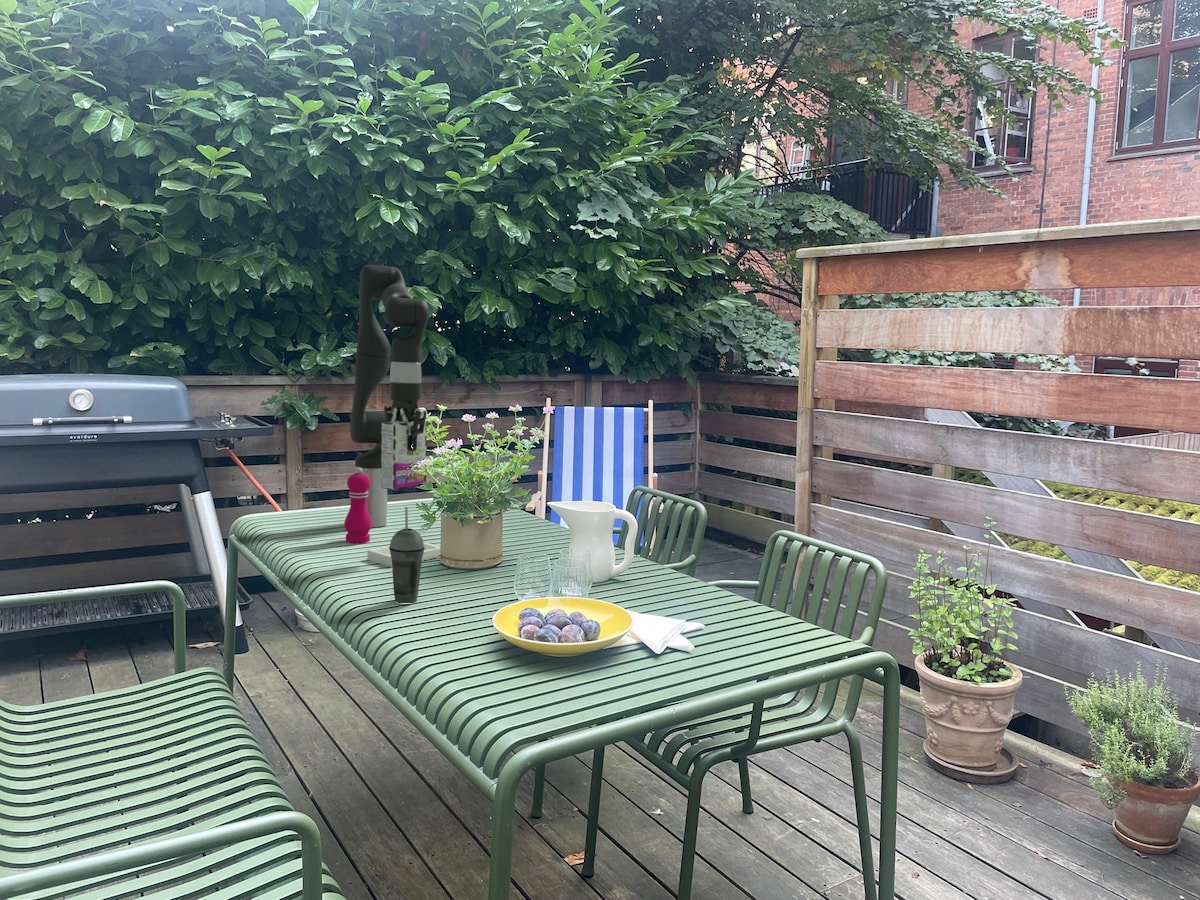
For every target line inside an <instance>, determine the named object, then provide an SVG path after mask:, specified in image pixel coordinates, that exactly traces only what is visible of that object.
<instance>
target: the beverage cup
mask: <svg viewBox="0 0 1200 900" xmlns="http://www.w3.org/2000/svg"><path fill="white" fill-rule="evenodd" d="M408 508H409V507H408V506H404V514H405V515H404V517H405V518H404V519H405V520H404V524H405V526H404V528H402V529H400V530H398V531H396V533H394V535H393V536H392V538H391V540H390V542H389V546H390V547H389V549H390V554H391V558H392V567H391V568H392V569H391V571H392V583H393V594H394V602H395V601H396V602H398V603H414V602H416V601H417V602H418V597H419V596H418V595H419V588H420V579H421V571H422V563H423V561H422V558H423V553H424V549H425V547H424V543H425V542H424V539H423V537H422V535H421V534H420V532H418V531H417V530H415V529H413V528H409V521H408V520H409V516H408V515H409V514H408V513H409V512H408V510H409V509H408ZM417 602H416V603H417ZM414 604H415V603H414Z"/></svg>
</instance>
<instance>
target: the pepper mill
mask: <svg viewBox="0 0 1200 900" xmlns="http://www.w3.org/2000/svg"><path fill="white" fill-rule="evenodd" d="M346 485H347V487H348V489H349V490H350V491H348V494H349V495H348V497H349V498H350V505H349V506H350V507H349V510H348V513H347V514H346V516H345V519H344V524H343V527H344V530H345V531H346V532H347V533H346V534H345V542H346V543H348V542H349V544H356V543H358V544H365V543H366V542H367V543H369V542H370V541H371V534H370V533H369V532H370V530H372V528H373V527H372V521H371V518H370V515H369V513H368V510H367V506H366V499H367V497H368V491H367V489H368V488H369V487H370V479H369V477H368V476H367V475H366V474H363V473H362V468H360V467H358V468H357V469H356V473H355V472H354V473H353V474H351V475H350V476H349V477H348V478H347V481H346Z"/></svg>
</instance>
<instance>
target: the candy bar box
mask: <svg viewBox="0 0 1200 900" xmlns="http://www.w3.org/2000/svg"><path fill="white" fill-rule="evenodd" d="M427 422H428V421H426V420H425V425H424V431H423V433H421V434H418V435H417V448H416V450H415V451H408V450H407V439H408V436H409V435H408V432H407V426H406V423H404V422H402V421H394V422H391V421H390V422H382V423H381V424H382V425H381V430H382V431H381V434H382V435H381V451H382V453H381V488H383V489H387V490H390V491H399V490H400V491H401V490H405V489H411V488H419V487H420V486H419V484H420V483H423V482H426V483H427V475H426V476H424V475H422V474H419V473H416V472H415V471H413V470H411V468H412V466H414V465H415V464H413V463H415V462H417V461H419V460H422V459H425V458H426V459H427V429H428V427H427V426H428V425H427V424H428V423H427ZM410 423H413V421H412V422H410ZM419 427H420V424H419V425H418V429H419ZM411 429H412V430H413V426H411ZM411 464H413V465H412V466H410V465H411ZM407 468H409V469H407Z"/></svg>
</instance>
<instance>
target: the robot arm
mask: <svg viewBox="0 0 1200 900" xmlns="http://www.w3.org/2000/svg"><path fill="white" fill-rule="evenodd" d="M403 276H404V275H403V274H402V271H401V270H400V269H399V268H397V267H394V266H392V265H391V266H388V265H377V264H364V265H363V266H362V267H361V269H360V273H359V291H358V292H359V300H358V301H359V303H358V304H359V306H358V308H359V311H358V312H359V313H358V316H359V317H358V319H359V320H358V330H357V331H358V332H357V333H358V334H357V341H356V352H355V374H354V377H355V378H354V392H353V401H352V408H351V415H350V425H349V433H350V434H349V435H350V439H351V441H352V442H353V443H356V444H375V446H374V447H373V448H371V449H370V450H369V451H367V452H364V453H361V454H359V455H357V456H356V457H355V459H354V474H355V473H356V469H357V468H358V467H360V468H362V473H363V474H366V475H367V476H368V477H369V479H370V487H369V488H368V489H367V491H368V497H367V499H366V506H367V510H368V513H369V515H370V518H371V521H372V528H379V527H380V528H381V527H385V526H386V525H387V521H388V519H387V517H388V512H387V511H388V489H383V488H381V453H382V451H381V435H382V434H381V431H382V430H381V425H382V424H381V423H382V422H394V421H402V422H404V423H406V426H407V432H408V435H409V436H408V439H407V450H408V451H415V450H416V448H417V435H418V434H421V433H423V431H424V425H425V421H426V417H427V410H426V409H420V408H419V406H418V405H419V404H418V402H419V401H421V399H422V365H421V361H422V345H423V344H422V342H423V339H424V338H423V337H424V334H425V330H426V327H427V325H428V321H429V319H430V306H429V305H428V303H427V302H426V301H425V300H424V299H421V298H413V296H412V295H411V294H410V293H409V292H408V289H407V287H406V283H405V279H404V277H403ZM373 300H375V301H376V300H377V301H382V304H383V307H384V308H385V309H384V319H385V321H386V323H387V324H388V325H390V327H395V328H410V329H411V328H412V330H411V332H410V334H408V335H405V336H398V337H394V338H393V339H392V342H391V344H390V341H389V340H388V338H387V335H386V334H385V332H384V331H383V329H382V327H381V326H380V323H379V322H378V320H377V318H376V315H375V313H374V309H373ZM388 372H389V399H390V400H391V401H392V405H385V406H384V408H383V411H380V410H379V411H375V410H373V411H372V410H371V411H369V410H367V411H366V408H367V406H368V402H369V401H370V398H371V396H372V395H373V393H374V392H375V390H376V389H377V388H378V387H379V385H380V384H381V383H382V382H383V381H384V380H385V378H386V376H387V375H388ZM412 421H413V423H410V422H412ZM419 424H420V427H419V429H418V425H419ZM411 426H413V430H412V429H411ZM412 444H413V445H412ZM411 445H412V447H413V449H412V448H411Z"/></svg>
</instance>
